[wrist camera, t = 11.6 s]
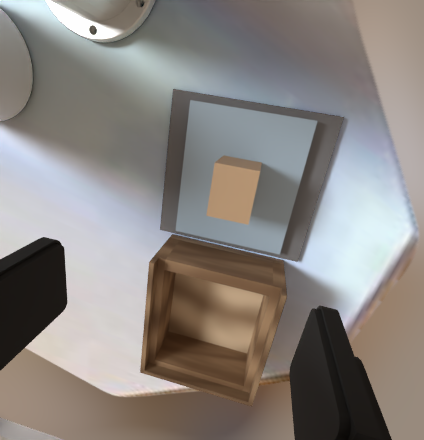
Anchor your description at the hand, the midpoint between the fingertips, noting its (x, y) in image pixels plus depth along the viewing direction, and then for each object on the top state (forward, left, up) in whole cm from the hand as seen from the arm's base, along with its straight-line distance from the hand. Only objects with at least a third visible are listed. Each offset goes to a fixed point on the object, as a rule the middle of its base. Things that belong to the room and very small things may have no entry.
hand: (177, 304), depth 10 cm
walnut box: (+17, 0, -22) cm, 28 cm away
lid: (0, 0, -22) cm, 22 cm away
